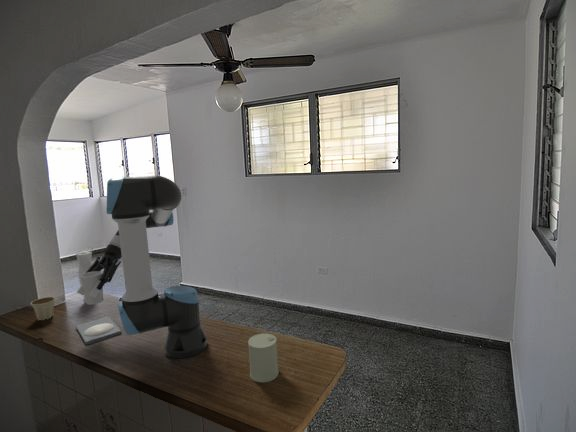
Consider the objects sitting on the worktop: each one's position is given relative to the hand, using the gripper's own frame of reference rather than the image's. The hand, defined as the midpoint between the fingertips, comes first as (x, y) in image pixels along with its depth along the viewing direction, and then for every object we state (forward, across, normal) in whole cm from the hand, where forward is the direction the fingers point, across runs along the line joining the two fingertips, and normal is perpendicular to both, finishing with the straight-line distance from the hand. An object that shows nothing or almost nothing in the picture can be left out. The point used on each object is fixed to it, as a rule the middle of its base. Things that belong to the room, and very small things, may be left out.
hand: (85, 295), depth 141 cm
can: (+8, -80, -19) cm, 83 cm away
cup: (+1, 0, -6) cm, 6 cm away
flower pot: (+11, +38, -13) cm, 42 cm away
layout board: (+10, +1, -15) cm, 18 cm away
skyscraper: (-5, +40, -29) cm, 50 cm away
